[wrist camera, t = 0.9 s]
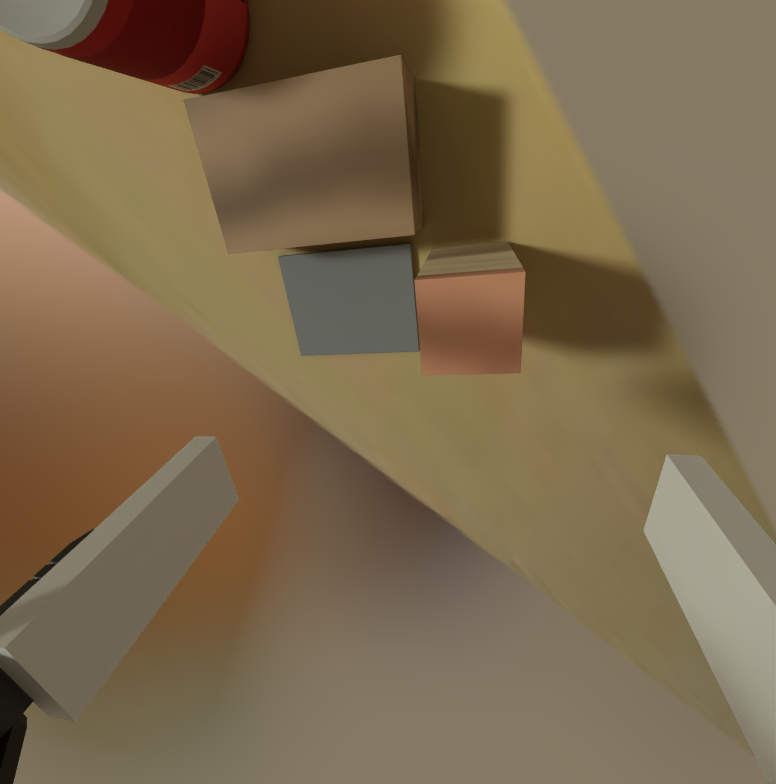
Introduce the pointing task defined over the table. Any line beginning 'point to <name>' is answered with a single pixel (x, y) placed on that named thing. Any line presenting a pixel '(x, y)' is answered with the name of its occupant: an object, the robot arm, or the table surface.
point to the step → (313, 157)
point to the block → (470, 310)
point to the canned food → (139, 36)
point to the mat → (353, 300)
